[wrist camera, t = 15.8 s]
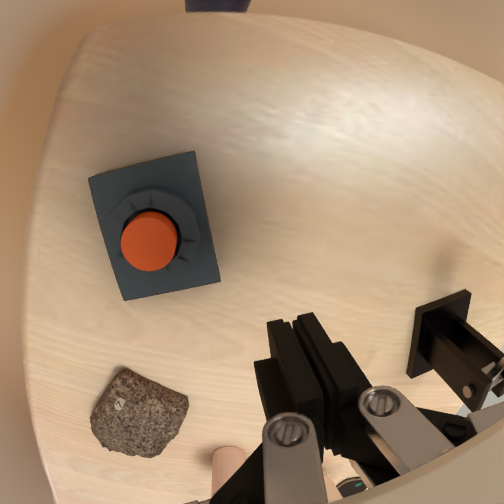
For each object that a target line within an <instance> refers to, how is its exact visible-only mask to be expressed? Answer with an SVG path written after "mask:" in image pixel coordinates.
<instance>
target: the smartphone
mask: <svg viewBox="0 0 504 504" xmlns="http://www.w3.org/2000/svg"><path fill="white" fill-rule="evenodd" d="M336 488H337V489H338V491H339V492H340V494H341V495H342V497H343V498H345V497H348V496H351V495H354V494H357V493H360V492H362V491H364V490H365V489H366V488H367V487H366V485H365V484H364V482H363V481H362V480H361V478H353V479H348V480H345V481H343V482H342V483H341V484H339V485H338V486H337V487H336Z"/></svg>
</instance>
